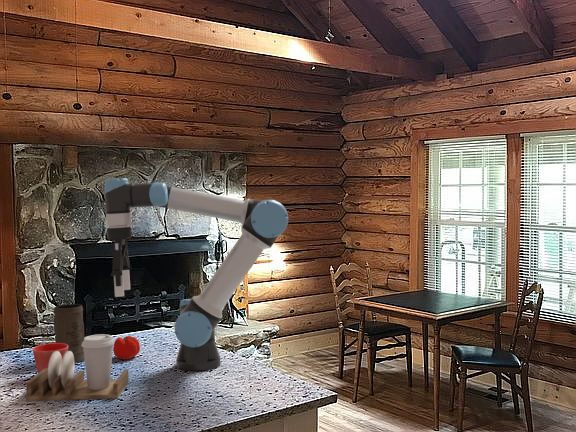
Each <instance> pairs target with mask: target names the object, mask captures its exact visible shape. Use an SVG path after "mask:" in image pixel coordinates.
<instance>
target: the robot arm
mask: <svg viewBox="0 0 576 432" xmlns="http://www.w3.org/2000/svg"><path fill="white" fill-rule="evenodd" d="M104 201H105V215H106V216H104V221H106V226H107V227H108V228H107V229H106V236H107V240H108V241H114V243H112V270H111V271H112V272H111V273H110V277H113V285H114V297H115V298H118V297H120V298H121V297H125V291H129V290H131V280H130V278H131V277H130V270H132V266H131V264H130V258H129V251H128V250H129V249H128V240H130V239H131V238H132V236H133V235H132V234H133V233H132V227H131V225H132V219H131V218H132V217H131V213H132V212H131V208H148V207H155V208H156V207H157V208H158V207H159V208H163V209H169V210H175V211H181V212H184V213H190V214H194V215H195V214H196V215H201V216H205V217H210V218H216V219H220V220H226V221H231V222H236V223H240V224H241V228H240V229H241V235H240V237H239V238H238V239H237V241H236V242H235V244H234V245H233V246H232V248H231V249H230V251H229V252H228V253H227V255H226V256H225V258H224V260H223V261H222V262H221V264H220V265H219V267H218V269H217V270H216V271H215V272H214V274H213V275H212V277H211V278H210V280H209V281H208V283H207V284H206V286H205V287H204V288H203V290H202V291H201V292H200V293H199V295H195V296H192V298H188V299H187V298H186V299H181V301H180V304H179V309H180V315H179V316H178V317H177V319H175V323H174V334H175V336H176V337H175V338H177V341H179V342H180V346H179V350H178V352H177V357H176V358H175V359H176V360H175V365H176V366H175V367H176V369H177V368H178V369H179V370H183V371H190V372H196V371H197V372H198V371H200V372H201V371H206V370H207V371H208V370H212V369H216V368H218V367H219V366H220V365H221V356H220V353H219V351H218V347H217V344H216V327H217V326H218V325H219V323H220V321H221V320H222V319H223V309H224V308H225V306H226V305H227V303H228V302H229V300H230V299H231V297H232V296H233V295H234V293H235V291H236V290H237V289H238V288H239V286H240V285H241V283H242V282H243V280H244V279H245V277H246V276H247V274H248V273H249V271H250V270H251V269H252V267H253V266H254V264H255V263H256V262H257V260H258V258H259V257H260V256H261V254H262V253H263V251H264V250H266V249H271V248H272V247H273V245H274V244H275V243H276V241H277V240H278V238H279V237H280V235H282V234H283V233H284V232H285V231H286V229H287V227H288V224H289V214H288V211H287V208H286V207H285V206H284V205H283V204H282V203H281V202H279V201H277V200H275V199H252V198H246V199H245V200H243V199H242V200H241V199H237V198H231V197H226V196H223V195H221V196H220V195H216V194H211V193H205V192H201V191H195V190H190V189H185V188H180V187H174V186H168V185H167V183H165V182H145V183H130V182H129V179H128V178H127V177H123V178H122V177H120V178H118V177H117V178H116V177H115V178H107V179H105V180H104Z"/></svg>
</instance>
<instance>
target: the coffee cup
mask: <svg viewBox="0 0 576 432" xmlns="http://www.w3.org/2000/svg"><path fill="white" fill-rule="evenodd" d="M114 342H115V340H114V339H113V337H112V335H111V334H104V333H103V334H102V333H101V334H100V333H99V334H92V335H87V336H84V341H83V342H82V345H81V346H82V347H83V350H84V358H85V359H84V366H85V373H86V380H87V384H88V388H89V389H92V390H100V389H105V388H108V387H109V386H110V381H111V378H112V362H113V347H114Z"/></svg>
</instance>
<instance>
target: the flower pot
mask: <svg viewBox="0 0 576 432" xmlns="http://www.w3.org/2000/svg"><path fill="white" fill-rule="evenodd" d="M54 351H59V352H60V354H61V356H62V359H63V356H64V354H65V352H66V351H68V345H67V344H63V343H55V342H53V343H52V342H51V343H43V344H40V345H36V346H34V347H33V348H32V353H33V357H34V362H35V367H36V370H37V374H38V373H39V372H40V371H42V370H43V369H44V368H48V365H49V360H50V357H51V355H52V353H53V352H54Z"/></svg>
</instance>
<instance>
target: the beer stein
mask: <svg viewBox="0 0 576 432" xmlns="http://www.w3.org/2000/svg"><path fill="white" fill-rule="evenodd" d="M83 311H84V307H83V305H82V304H80V303H79V304H78V303H72V304H71V303H68V304H61V305H56V306H54V308H53V315H54V316H53V330H54V335H55V336H54V340H55V341H54V343H63V344H67V345H68V351H71V352H72V353H73V356H74V361H75V364H77V363H80V362H83V361H85V358H84V350H83V347H82V346H81V345H82V342H83V341H84V338H85V324H84V317H83V315H84V312H83ZM76 362H77V363H76Z"/></svg>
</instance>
